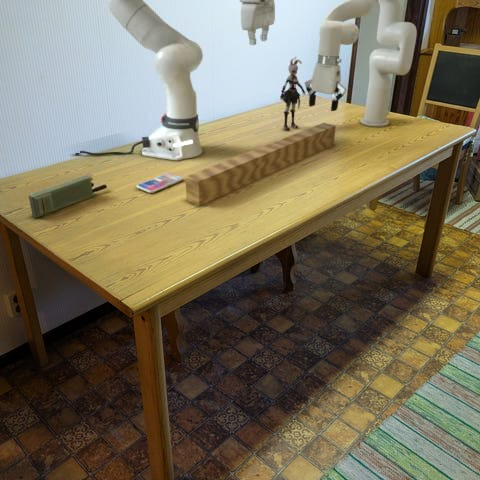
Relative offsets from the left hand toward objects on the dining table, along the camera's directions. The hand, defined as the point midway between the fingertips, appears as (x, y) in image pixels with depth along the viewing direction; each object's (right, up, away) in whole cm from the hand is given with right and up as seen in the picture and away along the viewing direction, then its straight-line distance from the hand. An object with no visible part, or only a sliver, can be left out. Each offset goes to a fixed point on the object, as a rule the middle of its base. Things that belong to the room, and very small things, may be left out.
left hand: (258, 42), depth 161 cm
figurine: (+16, -14, +58) cm, 62 cm away
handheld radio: (-56, -52, -9) cm, 77 cm away
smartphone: (-32, -45, +4) cm, 55 cm away
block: (+5, -38, +16) cm, 42 cm away
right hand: (+25, -13, +30) cm, 41 cm away
